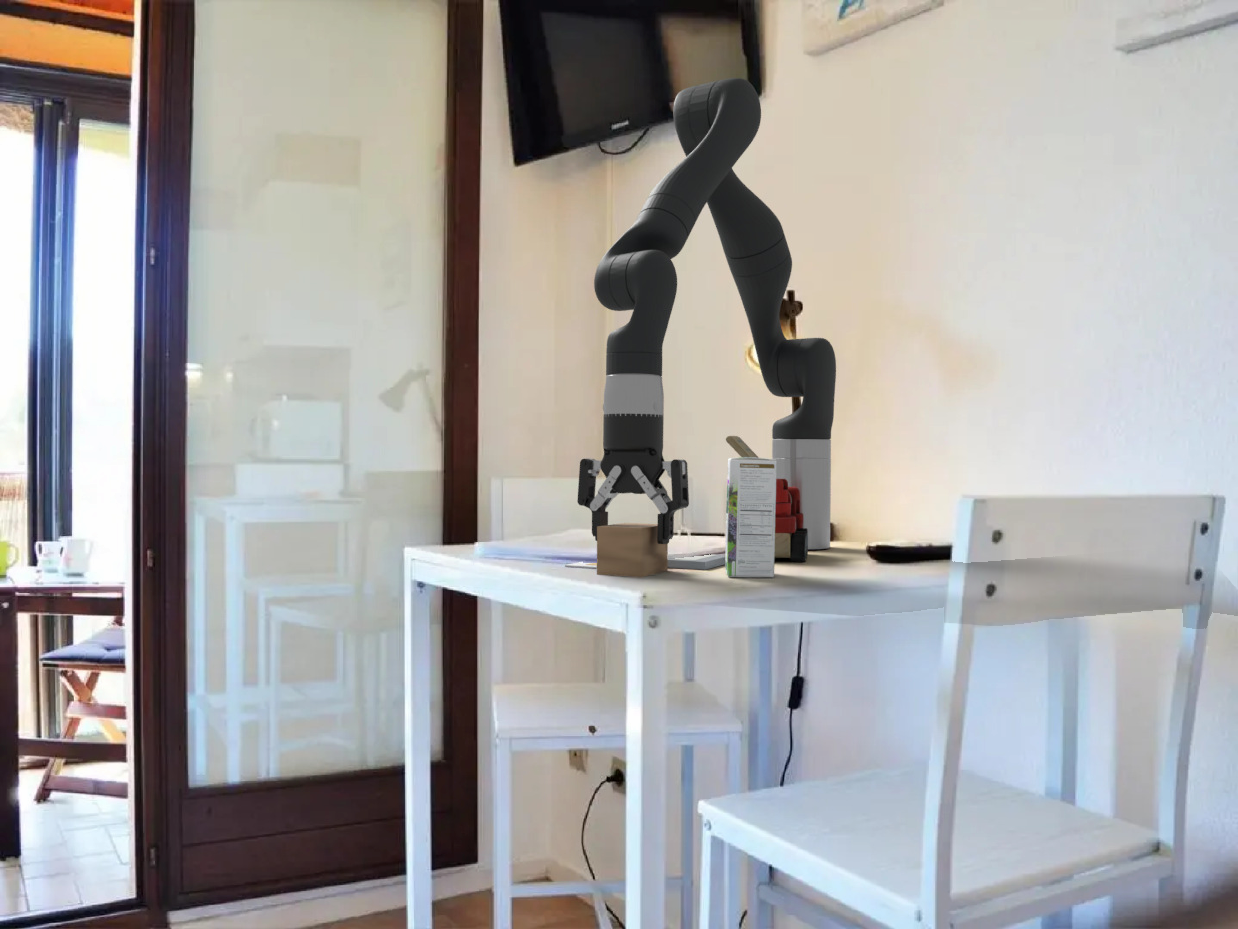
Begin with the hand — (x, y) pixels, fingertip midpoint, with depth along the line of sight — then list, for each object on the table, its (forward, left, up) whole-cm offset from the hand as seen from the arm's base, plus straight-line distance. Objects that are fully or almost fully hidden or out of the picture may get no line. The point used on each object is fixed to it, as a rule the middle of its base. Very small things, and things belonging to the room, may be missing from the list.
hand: (631, 542), depth 131 cm
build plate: (-12, +2, -4) cm, 13 cm away
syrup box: (-4, +14, -4) cm, 15 cm away
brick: (0, 0, -4) cm, 4 cm away
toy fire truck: (-27, +9, -4) cm, 29 cm away
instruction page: (-6, -7, -4) cm, 10 cm away
